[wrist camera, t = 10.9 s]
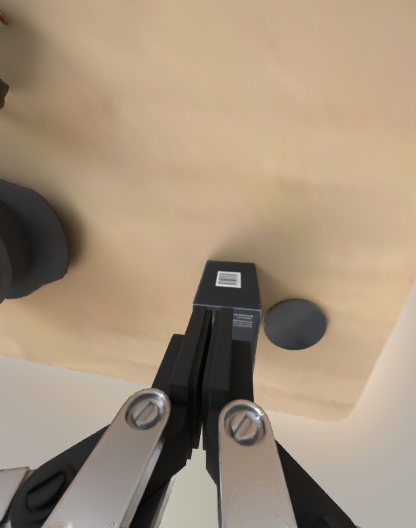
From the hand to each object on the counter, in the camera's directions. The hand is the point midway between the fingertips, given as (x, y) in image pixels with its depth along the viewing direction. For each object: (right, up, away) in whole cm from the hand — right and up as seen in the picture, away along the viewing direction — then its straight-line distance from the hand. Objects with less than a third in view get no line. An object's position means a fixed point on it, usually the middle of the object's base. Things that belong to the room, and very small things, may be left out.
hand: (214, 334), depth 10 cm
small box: (+2, +2, +14) cm, 14 cm away
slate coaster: (+11, -5, +21) cm, 25 cm away
